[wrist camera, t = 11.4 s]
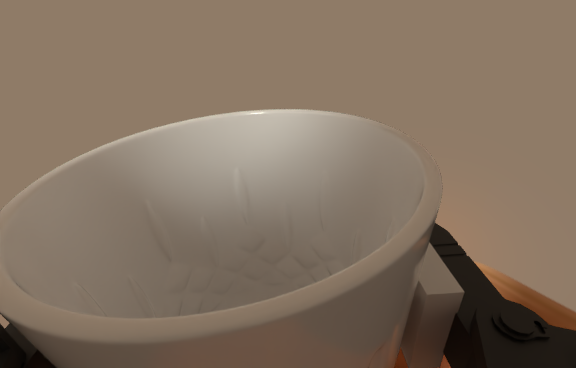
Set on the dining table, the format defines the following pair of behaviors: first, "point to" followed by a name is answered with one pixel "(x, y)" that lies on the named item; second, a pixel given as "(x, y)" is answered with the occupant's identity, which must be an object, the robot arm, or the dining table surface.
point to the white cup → (224, 245)
